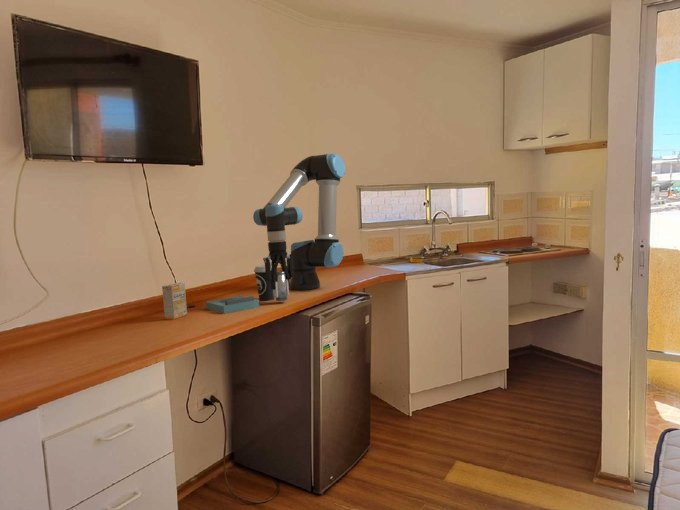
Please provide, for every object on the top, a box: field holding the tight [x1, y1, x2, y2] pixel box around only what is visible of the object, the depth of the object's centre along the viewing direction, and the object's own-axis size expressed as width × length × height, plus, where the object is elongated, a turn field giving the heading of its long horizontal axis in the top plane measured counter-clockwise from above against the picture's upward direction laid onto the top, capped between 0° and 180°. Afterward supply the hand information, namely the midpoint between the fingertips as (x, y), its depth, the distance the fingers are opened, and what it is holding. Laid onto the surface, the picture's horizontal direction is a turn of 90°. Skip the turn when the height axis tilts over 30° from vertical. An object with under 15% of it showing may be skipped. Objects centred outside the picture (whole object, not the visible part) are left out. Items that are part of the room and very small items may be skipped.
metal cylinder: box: [275, 270, 288, 302], centre depth 220 cm, size 5×5×12 cm
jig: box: [205, 295, 260, 314], centre depth 216 cm, size 16×16×5 cm
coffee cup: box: [253, 264, 275, 302], centre depth 231 cm, size 10×10×15 cm
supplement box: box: [161, 282, 188, 320], centre depth 203 cm, size 8×5×13 cm, turn 160°
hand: (281, 295), depth 221 cm, fingers closed on metal cylinder, 5 cm apart
